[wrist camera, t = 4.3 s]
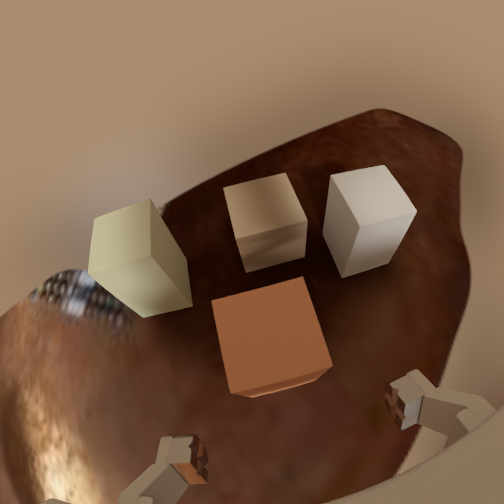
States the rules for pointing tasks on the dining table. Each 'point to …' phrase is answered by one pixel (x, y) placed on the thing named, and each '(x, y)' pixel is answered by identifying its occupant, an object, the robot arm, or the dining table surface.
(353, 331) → the dining table surface
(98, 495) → the dining table surface
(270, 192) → the off-white cube
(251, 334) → the terracotta block
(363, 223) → the light grey block
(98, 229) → the sage block
